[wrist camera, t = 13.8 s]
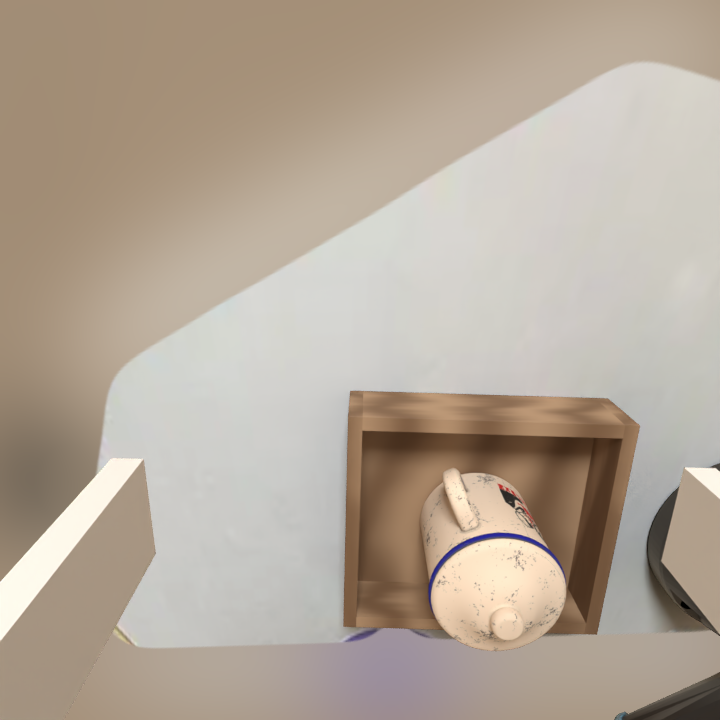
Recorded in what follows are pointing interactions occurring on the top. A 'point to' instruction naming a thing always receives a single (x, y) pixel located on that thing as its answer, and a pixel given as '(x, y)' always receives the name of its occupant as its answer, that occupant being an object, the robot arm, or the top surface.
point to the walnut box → (491, 456)
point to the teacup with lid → (488, 564)
